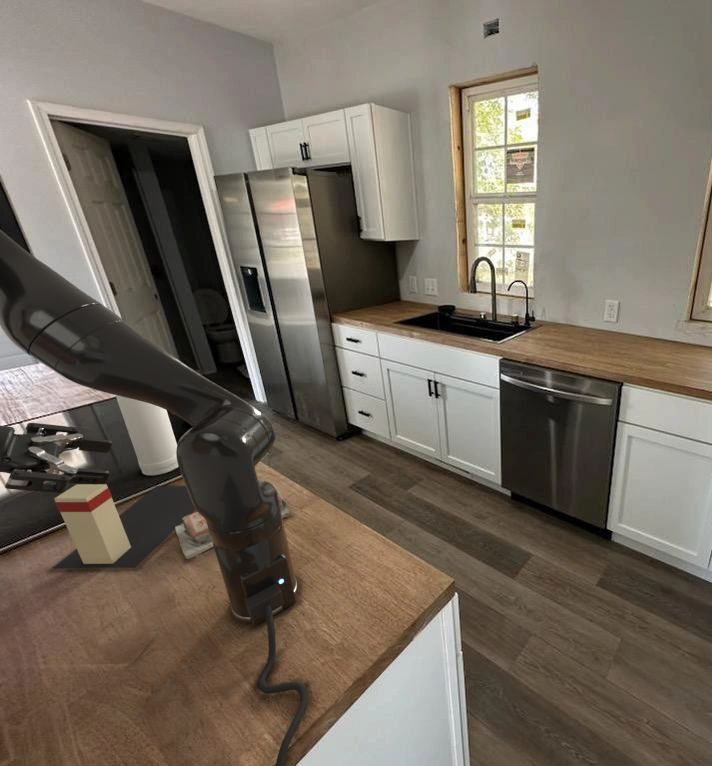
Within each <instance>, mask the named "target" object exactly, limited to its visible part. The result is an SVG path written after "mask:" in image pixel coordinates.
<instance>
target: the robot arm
mask: <svg viewBox="0 0 712 766" xmlns="http://www.w3.org/2000/svg"><path fill="white" fill-rule="evenodd" d="M0 328H1V331H3V333H4V335H6V337H7V338H8V339H9V340H10V341H11V342H12V343H13V344H14V345H15V346H16V347H17V348H19V349H20V350H21V351H22V352H23V353H25V354H26V355H28V356H31V357H32V358H33V359H35V360H36V361H37V362H39V363H41V364H42V365H44V366H45V367H47V368H49V369H50V370H52V371H53V372H54V373H57V374H58V375H59V376H61V377H63V378H65V379H67V380H69V381H70V382H72V383H75V384H77V385H78V386H82V387H85V388H88V389H92V390H95V391H98V392H102V393H104V394H105V393H106V394H109V395H115V396H117V395H118V396H122V397H126V398H130V399H135V400H139V401H143V402H146V403H150V404H153V405H156V406H159V407H161V408H163V409H165V410H167V412H170V413H171V414H172V415H175V416H177V417H178V418H180V419H182V420H183V421H185V422H186V423H187V424H189V425H190V426H192V427H191V428H190V429H188V430H187V431H186V432H184V434H183V435H182V436H181V437H180V438H179V440H178V442H177V450H176V456H177V463H178V466H179V467H178V469H179V472H180V475H181V478H182V481H183V483H184V486H186V488H187V491H188V493H189V496H190V498H191V501H192V503H193V505H194V507H195V509H196V510H195V511H196V512H198V513H199V514H200V515H201V516H203V518H204V519H205V520H206V523H207V526H208V529H209V532H210V536H211V539H212V543H213V546H214V547H213V548H214V553H215V555H216V559H217V563H218V566H219V570H220V573H221V576H222V580H223V583H224V587H225V590H226V593H227V596H228V600H229V603H230V609H231V612H232V616H234V618H235V619H236V620H238V621H241V622H244V623H252V625H253V626H254V627H256V626H258V625H260V624H262V623H263V622H265V621H266V627H267V639H268V640H267V641H268V643H267V644H268V654H267V660H266V663H265V666H264V669H263V670H262V672H261V673H260V675H259V677H258V680H257V687H258V690H259V691H260V692H262V693H265V694H276V693H281V692H286V691H296V692H297V693H298V695H299V699H300V700H299V706H298V709H297V710H296V713H295V716H294V717H293V719H292V721H291V723H290V725H289V727H288V728H287V731H286V733H285V735H284V737H283V739H282V741H281V744H280V746H279V750H278V754H277V757H276V763H275V766H285V765H286V758H287V753H288V750H289V747H290V745H291V743H292V739H293V738H294V735H295V733H296V731H297V729H298V727H299V725H300V723H301V721H302V719H303V717H304V714H305V712H306V710H307V706H308V703H309V702H308V701H309V696H308V690H307V688H306V685H304V684H303V683H302V682H299V681H288V682H284V683H279V684H278V683H277V684H272V685H271V684H267V682H266V680H267V678H268V676H269V674H270V672H271V670H272V669H273V667H274V664H275V660H276V652H277V641H276V627H275V620H274V616H276V615H278V614H279V613H280V612H282V611H284V610H285V609H287V608H289V607H291V606H292V605H294V604H295V603H296V602H297V599H296V595H297V593H298V587H299V586H298V584H299V583H298V580H297V577H296V575H295V569H294V565H293V561H292V556H291V551H290V546H289V542H288V538H287V533H286V527H285V524H284V518H282V513H281V508H280V504H279V499H278V494H277V491H276V489H275V487H276V486H275V487H274V486H273V485H272V483H270V482H269V481H267V480H266V481H265V480H260V479H258V475H257V472H256V466H257V465H258V464H259V463H260V462H261V461H262V459H264V457H266V455H267V454H268V453H269V451H270V450H271V449H272V448H273V446H274V444H275V441H276V431H275V427H274V424H273V423H272V422H271V420H270V419H269V418H268V416H267V415H266V414H264V413H263V411H261V410H260V409H258V408H257V407H256V406H254V405H253V404H251V403H250V402H248V401H246V400H245V399H243V398H241V397H239V396H237V395H236V394H234V393H233V392H231V391H229V390H227V389H225V388H223V387H222V386H220V385H219V384H217V383H215V382H213V381H212V380H210V379H208V378H207V377H205V376H203V375H202V374H201V373H199V372H197V371H196V370H194V369H193V368H192V367H190V366H188V365H187V364H185V363H184V362H183V361H181V360H180V359H178V358H177V357H176V356H174V355H173V354H171V353H169V351H167V350H165V349H164V348H162V347H161V346H159V345H158V344H156V343H155V342H153V340H151V339H149V338H148V337H147V336H145V334H142V333H141V332H140V331H139V330H137V329H136V328H135V327H134V326H132V325H131V324H130V323H129V322H127V321H126V320H125V319H123V318H122V317H120V316H119V315H118V314H116V313H115V312H114V311H112V310H110V309H109V308H108V307H107V306H105V305H104V304H102V303H101V302H99V301H98V300H96V299H94V298H93V297H92V296H90V295H89V294H87V293H86V292H84V291H83V290H81V289H80V288H78V287H77V286H76V285H74V284H73V283H72V282H70V281H69V280H68V279H66V278H65V277H63V276H62V275H61V274H60V273H58V272H57V271H55V270H54V269H53V268H51V267H50V266H48V265H47V264H45V263H44V262H43V261H41V260H39V259H38V258H37V257H35V256H34V255H33V254H31V253H30V252H29V251H27V250H26V249H24V248H23V247H22V246H21V245H20V244H19V243H18V242H15V241H14V240H13V239H12V238H11V237H10V236H8V234H7V233H6V232H4V231H3V230H2V229H0ZM15 432H16V429H15V428H14V427H13V426H8V425H0V473H5V474H9V477H8V478H7V480H6V483H5V485H4V488H5V489H7V490H14V491H15V490H16V491H26V492H27V491H29V492H43V493H53V494H54V493H56V494H62V493H64V492H65V490H66V489H67V488H68V487H69V486H71V485H72V484H95V485H97V484H106V482H107V481H108V479H109V477H110V471H109V470H106V469H105V470H103V469H92V468H80V467H79V468H78V469H77V468H75V467H73V466H70V465H68V464H65V461H64V460H63V459H62V458H60V455H61V454H63V453H64V452H68V451H74V450H77V449H78V451H84V452H90V453H91V452H92V453H102V454H106V453H108V452H110V450H111V448H112V445H113V441H112V440H110V439H104V438H96V437H86V436H84V435H83V434H82V433H80V428H78V427H75V426H68V425H57V424H48V423H41V422H40V423H39V422H28V423H27V424H26V426H25V428H24V430H23V432H22V434H21V433H15ZM58 433H59V434H58ZM63 433H65V434H66V435H65V434H63ZM60 472H61V473H63V474H61V473H60ZM45 482H53V483H55V484H50V483H45Z"/></svg>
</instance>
